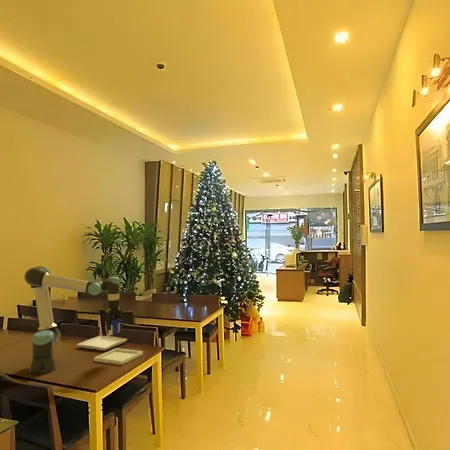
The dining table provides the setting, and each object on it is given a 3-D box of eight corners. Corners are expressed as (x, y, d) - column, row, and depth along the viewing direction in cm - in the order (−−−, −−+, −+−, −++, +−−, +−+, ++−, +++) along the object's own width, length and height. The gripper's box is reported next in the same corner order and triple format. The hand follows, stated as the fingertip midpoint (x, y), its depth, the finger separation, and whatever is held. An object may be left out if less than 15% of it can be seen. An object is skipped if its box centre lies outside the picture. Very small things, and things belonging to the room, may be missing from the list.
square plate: (75, 349, 279) (75, 343, 279) (100, 339, 305) (100, 335, 305) (104, 352, 269) (104, 347, 269) (127, 343, 295) (127, 338, 295)
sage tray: (122, 365, 241) (122, 361, 241) (94, 361, 249) (94, 357, 249) (142, 354, 262) (142, 351, 262) (116, 351, 271) (116, 348, 271)
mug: (119, 335, 249) (119, 320, 249) (103, 334, 251) (103, 319, 251) (125, 332, 257) (125, 317, 257) (109, 331, 259) (109, 317, 259)
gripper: (108, 302, 244) (108, 337, 243) (127, 297, 262) (127, 330, 261) (99, 301, 247) (99, 336, 246) (118, 297, 265) (119, 329, 264)
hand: (114, 333), depth 253 cm, fingers closed on mug, 7 cm apart
